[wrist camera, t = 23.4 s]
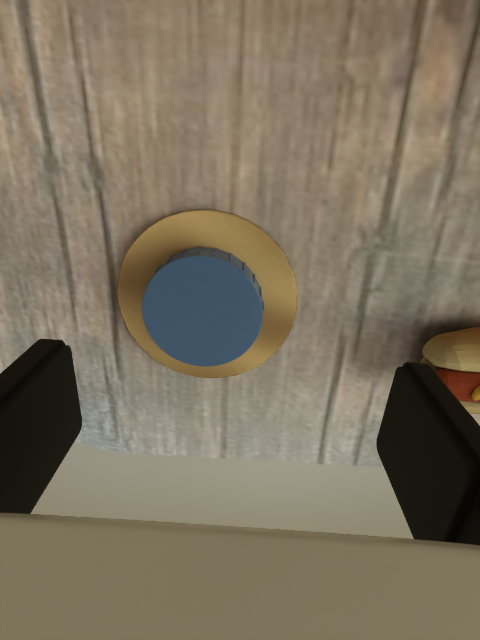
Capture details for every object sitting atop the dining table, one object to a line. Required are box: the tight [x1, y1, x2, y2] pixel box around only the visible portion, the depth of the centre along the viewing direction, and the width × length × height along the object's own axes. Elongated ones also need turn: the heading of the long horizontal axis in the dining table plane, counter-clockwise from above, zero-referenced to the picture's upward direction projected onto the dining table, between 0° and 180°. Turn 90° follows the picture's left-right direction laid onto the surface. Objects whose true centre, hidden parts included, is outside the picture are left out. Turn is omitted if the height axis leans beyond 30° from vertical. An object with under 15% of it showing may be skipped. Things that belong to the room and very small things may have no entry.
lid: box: [142, 246, 264, 367], centre depth 22 cm, size 7×7×2 cm
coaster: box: [118, 209, 297, 378], centre depth 23 cm, size 11×11×1 cm
